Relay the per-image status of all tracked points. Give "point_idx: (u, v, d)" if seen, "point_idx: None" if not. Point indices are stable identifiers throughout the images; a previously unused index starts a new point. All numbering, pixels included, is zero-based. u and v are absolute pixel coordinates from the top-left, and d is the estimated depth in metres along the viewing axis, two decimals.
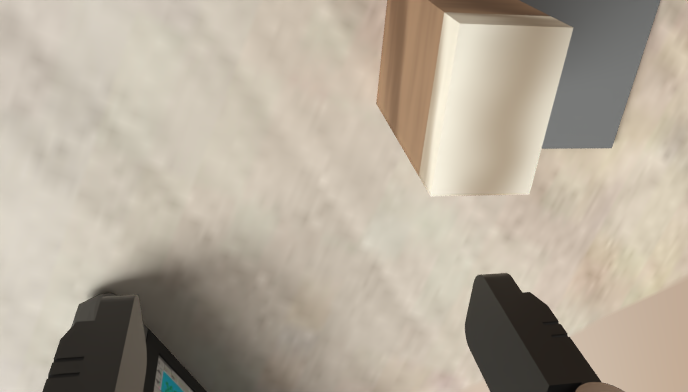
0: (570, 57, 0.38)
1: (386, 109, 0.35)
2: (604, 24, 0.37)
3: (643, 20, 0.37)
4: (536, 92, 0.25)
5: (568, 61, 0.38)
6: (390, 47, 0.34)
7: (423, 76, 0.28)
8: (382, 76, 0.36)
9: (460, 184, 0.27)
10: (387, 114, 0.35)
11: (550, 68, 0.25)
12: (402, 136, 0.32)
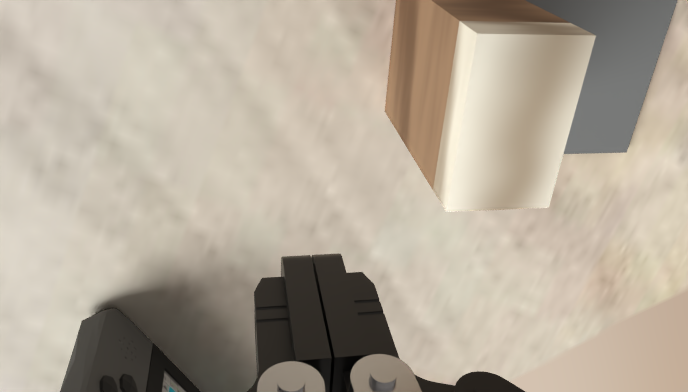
0: None
1: (396, 118, 0.34)
2: (619, 26, 0.36)
3: (660, 21, 0.36)
4: (556, 103, 0.24)
5: None
6: (399, 54, 0.33)
7: (437, 86, 0.27)
8: (391, 83, 0.35)
9: (477, 199, 0.26)
10: (397, 123, 0.34)
11: (571, 78, 0.24)
12: (414, 147, 0.31)
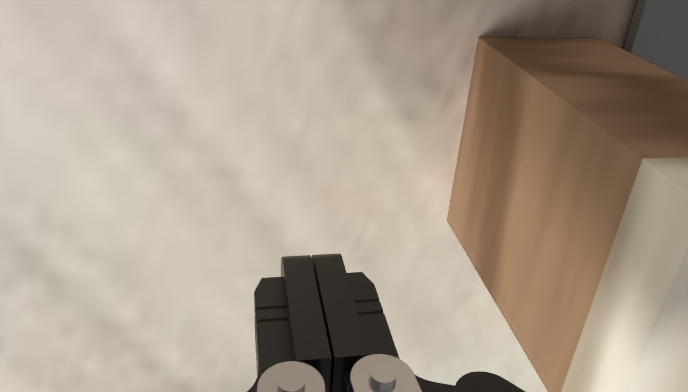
0: None
1: (469, 242, 0.23)
2: None
3: None
4: None
5: None
6: (479, 153, 0.22)
7: (571, 244, 0.16)
8: (461, 188, 0.24)
9: None
10: (472, 251, 0.23)
11: None
12: (510, 309, 0.20)
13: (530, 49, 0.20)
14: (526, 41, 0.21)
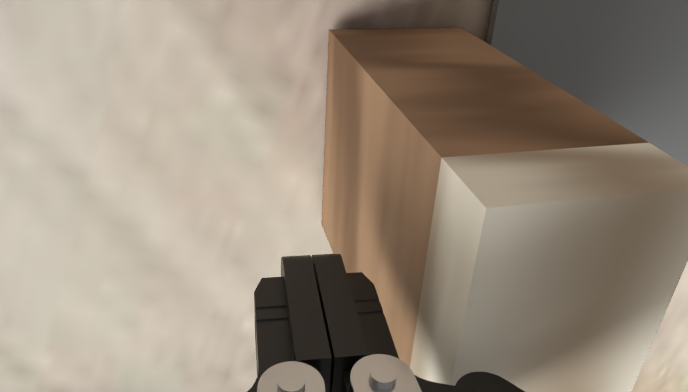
0: None
1: (337, 247, 0.22)
2: (671, 92, 0.24)
3: None
4: (634, 304, 0.12)
5: None
6: (337, 153, 0.20)
7: (401, 250, 0.15)
8: (328, 190, 0.22)
9: None
10: None
11: (665, 261, 0.12)
12: None
13: (378, 41, 0.19)
14: (379, 32, 0.20)
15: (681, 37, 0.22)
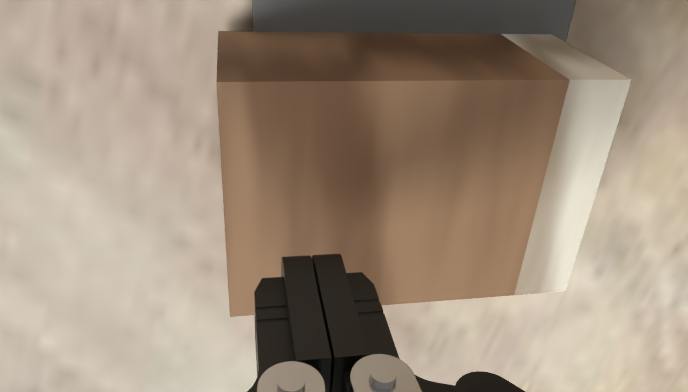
0: None
1: None
2: None
3: None
4: None
5: None
6: (289, 205, 0.17)
7: (500, 182, 0.18)
8: (256, 262, 0.18)
9: None
10: None
11: None
12: (421, 289, 0.20)
13: (272, 66, 0.16)
14: (236, 62, 0.17)
15: None
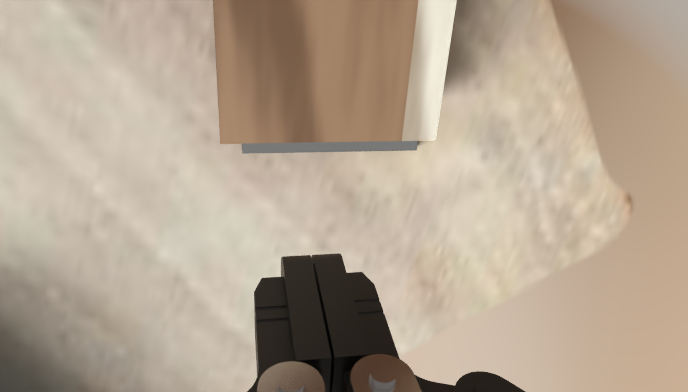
0: None
1: (269, 132, 0.31)
2: None
3: None
4: None
5: None
6: (255, 67, 0.29)
7: (383, 59, 0.30)
8: (236, 106, 0.30)
9: None
10: (275, 135, 0.31)
11: None
12: (340, 132, 0.32)
13: None
14: None
15: None
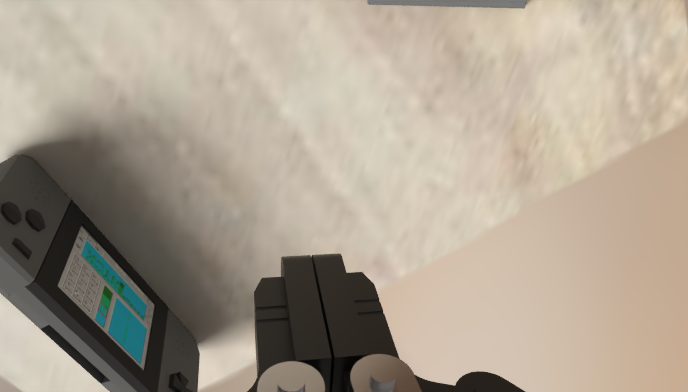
0: None
1: None
2: None
3: None
4: None
5: None
6: None
7: None
8: None
9: None
10: None
11: None
12: None
13: None
14: None
15: None
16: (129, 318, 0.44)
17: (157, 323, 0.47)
